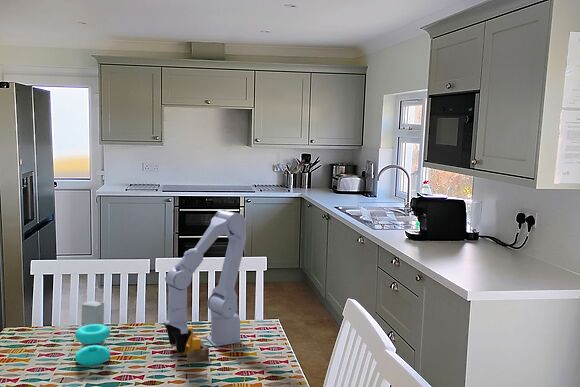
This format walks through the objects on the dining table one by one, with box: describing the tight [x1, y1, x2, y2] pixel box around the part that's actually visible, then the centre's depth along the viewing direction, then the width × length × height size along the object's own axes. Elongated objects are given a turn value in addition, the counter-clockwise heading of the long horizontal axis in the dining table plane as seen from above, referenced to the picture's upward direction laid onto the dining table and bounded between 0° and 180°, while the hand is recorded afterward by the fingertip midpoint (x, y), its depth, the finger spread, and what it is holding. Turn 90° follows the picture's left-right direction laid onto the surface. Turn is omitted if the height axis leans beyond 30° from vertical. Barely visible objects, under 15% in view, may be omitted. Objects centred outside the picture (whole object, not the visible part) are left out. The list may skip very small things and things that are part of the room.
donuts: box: [74, 324, 111, 367], centre depth 166 cm, size 10×10×10 cm
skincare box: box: [80, 300, 105, 327], centre depth 183 cm, size 6×4×12 cm
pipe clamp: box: [181, 326, 202, 355], centre depth 174 cm, size 12×4×6 cm, turn 23°
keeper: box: [186, 333, 210, 364], centre depth 176 cm, size 7×19×4 cm, turn 29°
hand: (177, 348), depth 174 cm, fingers open, 7 cm apart
